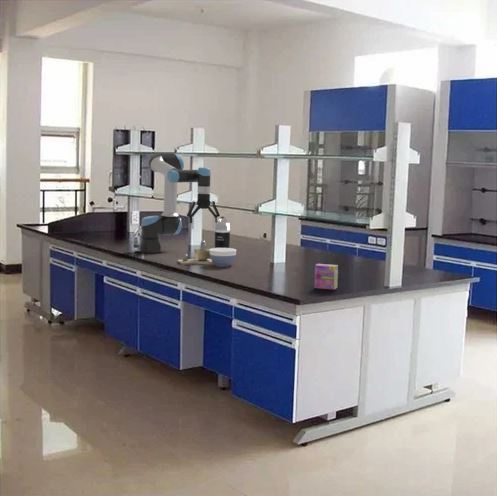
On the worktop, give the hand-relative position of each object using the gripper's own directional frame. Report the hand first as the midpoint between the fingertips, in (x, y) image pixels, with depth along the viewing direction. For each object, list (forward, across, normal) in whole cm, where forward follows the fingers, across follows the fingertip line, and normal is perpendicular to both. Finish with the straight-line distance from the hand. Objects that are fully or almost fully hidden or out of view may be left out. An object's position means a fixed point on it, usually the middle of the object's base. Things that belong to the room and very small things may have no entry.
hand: (203, 228), depth 430 cm
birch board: (+20, -5, -4) cm, 21 cm away
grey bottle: (+21, +20, +24) cm, 37 cm away
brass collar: (+18, -1, -4) cm, 18 cm away
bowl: (+20, +7, -18) cm, 28 cm away
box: (+19, +37, -95) cm, 104 cm away
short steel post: (+19, -12, -4) cm, 23 cm away
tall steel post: (+19, -1, -4) cm, 19 cm away
